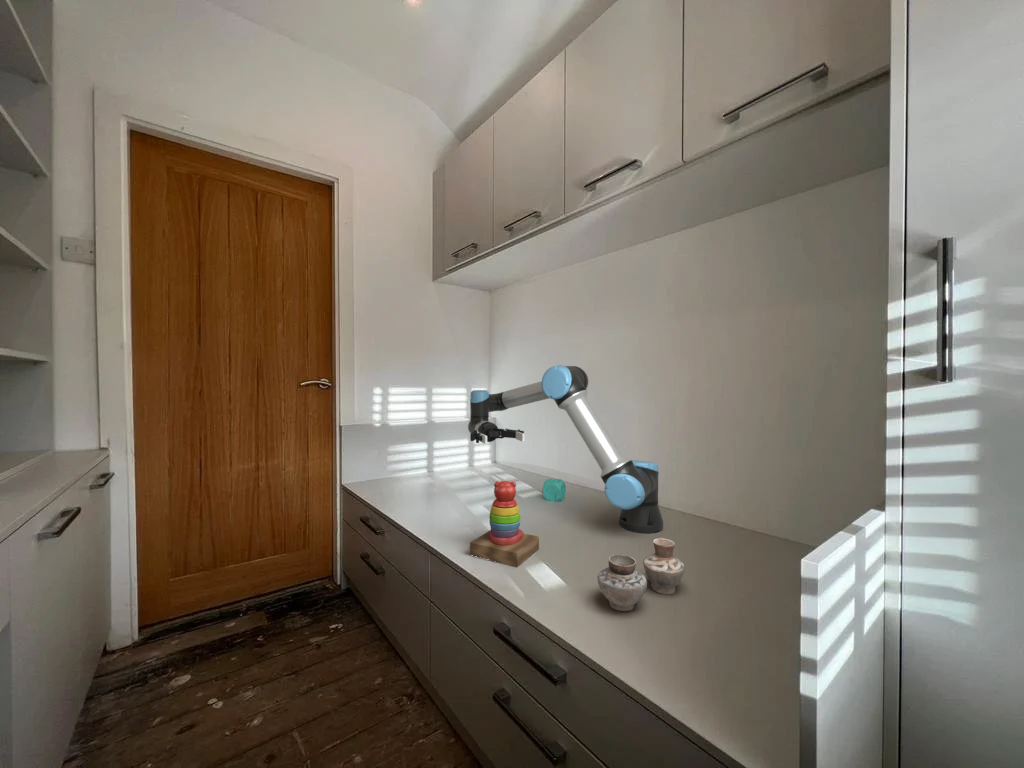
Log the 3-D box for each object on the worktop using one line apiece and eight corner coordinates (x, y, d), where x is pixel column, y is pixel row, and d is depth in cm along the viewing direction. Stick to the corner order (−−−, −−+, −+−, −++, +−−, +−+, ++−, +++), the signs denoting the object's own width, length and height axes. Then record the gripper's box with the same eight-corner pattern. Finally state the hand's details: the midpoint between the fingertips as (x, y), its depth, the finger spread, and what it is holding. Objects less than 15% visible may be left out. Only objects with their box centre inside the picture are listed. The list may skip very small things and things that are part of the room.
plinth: (538, 549, 131) (538, 536, 131) (517, 567, 118) (517, 553, 118) (494, 539, 138) (494, 527, 138) (470, 555, 126) (470, 542, 126)
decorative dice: (542, 500, 182) (542, 481, 181) (548, 495, 189) (548, 477, 189) (560, 502, 178) (560, 484, 178) (566, 497, 185) (566, 479, 185)
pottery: (695, 593, 104) (695, 545, 104) (622, 624, 91) (622, 569, 91) (658, 574, 114) (658, 530, 114) (587, 600, 101) (587, 551, 101)
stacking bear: (524, 533, 133) (524, 477, 132) (521, 546, 123) (521, 485, 122) (490, 532, 134) (490, 476, 134) (484, 545, 124) (484, 484, 124)
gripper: (516, 438, 169) (538, 447, 149) (455, 442, 160) (469, 452, 141) (516, 420, 169) (538, 426, 149) (455, 423, 160) (469, 429, 140)
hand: (505, 438), depth 145 cm, fingers open, 13 cm apart
